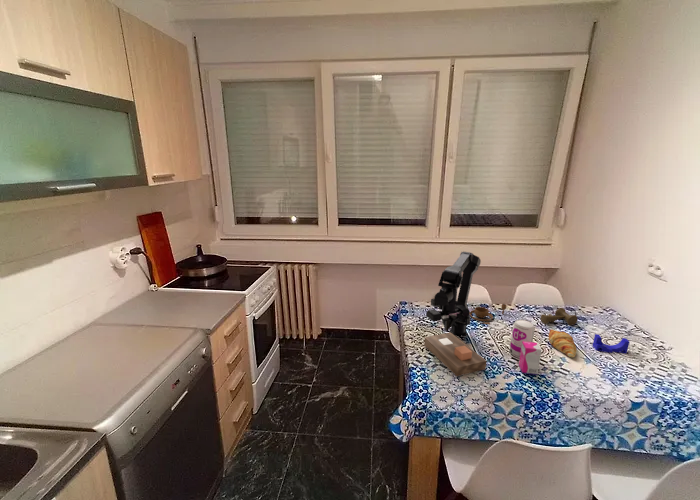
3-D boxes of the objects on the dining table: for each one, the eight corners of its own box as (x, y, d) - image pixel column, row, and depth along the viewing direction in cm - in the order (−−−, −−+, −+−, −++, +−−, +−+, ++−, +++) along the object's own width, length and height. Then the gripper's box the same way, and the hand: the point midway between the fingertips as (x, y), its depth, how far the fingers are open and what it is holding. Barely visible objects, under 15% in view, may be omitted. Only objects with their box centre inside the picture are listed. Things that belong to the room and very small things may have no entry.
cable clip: (596, 350, 149) (598, 338, 148) (592, 345, 153) (595, 334, 152) (627, 355, 146) (631, 343, 144) (623, 350, 150) (626, 338, 148)
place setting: (467, 309, 190) (468, 299, 189) (504, 313, 186) (506, 303, 184) (471, 323, 174) (472, 313, 172) (512, 328, 169) (513, 317, 168)
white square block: (446, 344, 152) (446, 337, 151) (452, 350, 148) (453, 343, 147) (437, 346, 150) (437, 339, 149) (443, 352, 146) (444, 345, 145)
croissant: (578, 367, 143) (591, 353, 140) (558, 356, 142) (571, 342, 140) (554, 340, 163) (565, 328, 161) (537, 330, 163) (547, 318, 160)
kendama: (535, 319, 179) (568, 316, 182) (549, 329, 170) (583, 325, 173) (537, 309, 177) (570, 306, 180) (550, 318, 168) (585, 314, 171)
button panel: (449, 339, 157) (450, 332, 156) (485, 369, 135) (486, 360, 134) (424, 345, 152) (424, 337, 151) (456, 376, 130) (457, 367, 129)
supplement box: (533, 366, 137) (537, 342, 134) (537, 375, 131) (542, 350, 128) (518, 364, 138) (522, 340, 135) (521, 373, 133) (526, 348, 130)
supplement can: (521, 361, 140) (527, 329, 136) (505, 351, 148) (509, 321, 144) (534, 356, 144) (539, 325, 140) (517, 347, 151) (522, 317, 147)
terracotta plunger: (463, 352, 140) (464, 345, 139) (471, 359, 136) (472, 351, 135) (454, 354, 139) (455, 347, 138) (461, 361, 134) (462, 353, 133)
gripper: (456, 288, 153) (452, 319, 157) (420, 293, 147) (418, 325, 151) (472, 297, 143) (468, 330, 147) (435, 303, 136) (432, 337, 141)
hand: (446, 330), depth 146 cm, fingers closed
